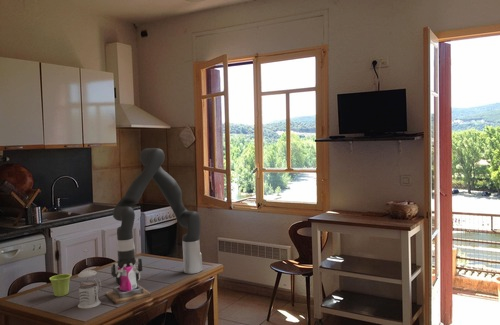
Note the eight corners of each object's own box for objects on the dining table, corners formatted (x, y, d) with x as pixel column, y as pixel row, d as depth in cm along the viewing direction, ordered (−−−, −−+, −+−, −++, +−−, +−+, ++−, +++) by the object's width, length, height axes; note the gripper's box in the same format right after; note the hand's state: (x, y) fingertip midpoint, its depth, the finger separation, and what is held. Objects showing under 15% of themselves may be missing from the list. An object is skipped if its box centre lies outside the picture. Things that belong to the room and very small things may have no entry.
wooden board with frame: (138, 286, 211) (138, 280, 211) (150, 295, 198) (150, 288, 198) (106, 294, 202) (105, 287, 202) (116, 304, 189) (116, 296, 189)
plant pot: (51, 293, 207) (49, 275, 207) (71, 289, 211) (70, 272, 211) (50, 299, 199) (49, 281, 198) (72, 295, 203) (71, 277, 202)
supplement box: (127, 287, 204) (126, 263, 203) (137, 288, 201) (135, 264, 201) (119, 291, 199) (117, 267, 198) (128, 292, 196) (127, 268, 196)
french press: (88, 299, 197) (85, 245, 196) (108, 301, 193) (105, 247, 192) (72, 306, 188) (68, 251, 187) (93, 309, 184) (89, 252, 182)
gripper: (137, 244, 206) (139, 277, 207) (107, 249, 198) (110, 284, 199) (143, 247, 200) (145, 281, 201) (112, 252, 192) (114, 288, 193)
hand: (127, 282), depth 200 cm, fingers closed on supplement box, 7 cm apart
